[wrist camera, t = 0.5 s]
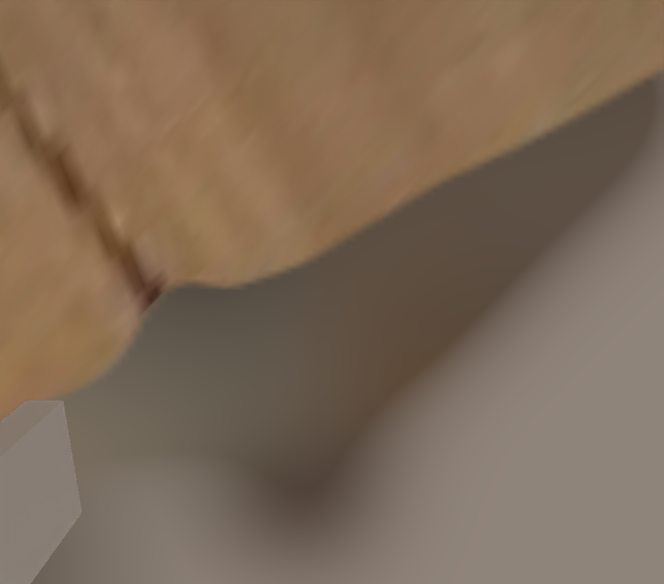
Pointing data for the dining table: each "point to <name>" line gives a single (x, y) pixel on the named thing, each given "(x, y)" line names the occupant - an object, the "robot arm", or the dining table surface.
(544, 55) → the dining table surface
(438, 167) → the dining table surface
